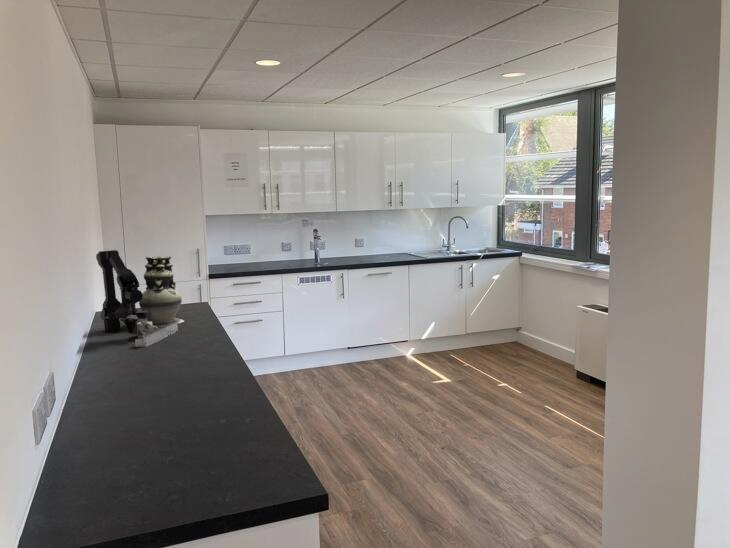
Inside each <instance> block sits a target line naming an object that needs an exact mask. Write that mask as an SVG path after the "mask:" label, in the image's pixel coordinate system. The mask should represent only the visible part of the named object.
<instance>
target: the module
mask: <svg viewBox="0 0 730 548" xmlns="http://www.w3.org/2000/svg"><path fill="white" fill-rule="evenodd" d="M140 323H148V324H151V325H152V322H148V320H142V321H140V322H136V325H137V324H140ZM136 329H137V328H136ZM137 332H138V329H137Z"/></svg>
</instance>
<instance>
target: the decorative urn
mask: <svg viewBox="0 0 730 548" xmlns="http://www.w3.org/2000/svg"><path fill="white" fill-rule="evenodd" d="M171 259H172V256H171V255H167V256H164V257H162V256H161V255H160V256H159V255H157V256H151V257H149V256H145V260H146V261H147V263H146V264H145V265H144V268H145V269H146V270H145V272H144V274H143V279H144V281H145V285H146V287H145V290H144V292H142V294H143V297H142V300H141V301H139V302H138V304H139V308H140V310H141V311H150V312H151V317H148V318H146V319H147V321H148V322H152V325H153V326H156V327H162V326H164V325H166V324H168V323H171V322H173V321H178V323H177V324H182V323H184V322H185V320H184V319H181V318H176V315H177V313H178V311H179V309H180V308H181V305H182V302H183V301H182V300H183V298H182V296H181V294H180V293H179V292H178V291H177V290H176V284H177V283H176V281H175V280H174V273H173V269H172V268H173V266H174V264H173V263H171V261H170V260H171Z"/></svg>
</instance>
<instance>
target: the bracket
mask: <svg viewBox="0 0 730 548" xmlns="http://www.w3.org/2000/svg"><path fill="white" fill-rule="evenodd" d="M178 324H179V323H178V321H173V322H171V323H168V324H166V325H164V326H159V327H158V328H157V329H155V330H153V331H151V332H149V333H146V334H144V335H142V337H143V339H139V338H136V339H134V341H135V342H134V343H135V347H136V348H137V347H139V348H141V347H142V348H143V347H144V348H146V347H149V346H151V345H154V344H155V343H158V342H159V341H161V340H164V339H165V338H167V337H169V336H171V335H173V334H175V333H177V332H178V331H179V330H178V328H179V327H178ZM176 331H177V332H176ZM170 334H171V335H170ZM168 335H169V336H168Z"/></svg>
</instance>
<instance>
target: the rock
mask: <svg viewBox="0 0 730 548" xmlns="http://www.w3.org/2000/svg"><path fill="white" fill-rule="evenodd" d="M157 328H159V326H153V325H151V324H148V323H140V324H137V323H136V329H138V331H137V339H143V337H142V335H144V334H146V333H149V332H151V331H153V330H155V329H157Z"/></svg>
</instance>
